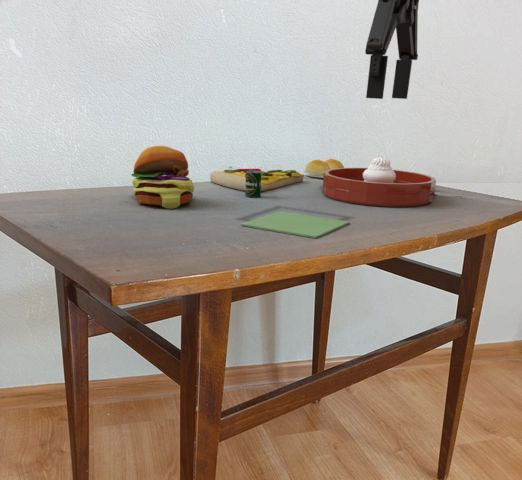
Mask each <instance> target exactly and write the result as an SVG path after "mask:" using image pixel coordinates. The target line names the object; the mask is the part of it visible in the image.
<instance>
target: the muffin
mask: <svg viewBox="0 0 522 480" xmlns="http://www.w3.org/2000/svg"><path fill="white" fill-rule="evenodd" d="M367 168H368V169H366V170H365V171H364V173H363V178H364V181H366V182H377V183H393V181H394V180H395V178H396V174H395V172H394V171H393V170H394V169H393V167H392V166H391V161H390V159H388V158H387V157H383V156H380V157H374V158H373V159H372V160H371V161H370V165H368V167H367Z"/></svg>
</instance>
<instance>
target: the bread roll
mask: <svg viewBox="0 0 522 480" xmlns="http://www.w3.org/2000/svg"><path fill="white" fill-rule="evenodd" d="M337 168H345V166H344V164H343V163H342V162H341V161H340V160H337V159H334V158H329V159H326V160H325V161H324V160H320V159H314V160H311V161H309V162H308V163H307V164H306V166H305V167H304V171H303V172H304V174H306V177H307V178H309V179H312V180H313V179H314V180H319V181H321V180H322V181H323V177H324V172H325V171H326V170H330V169H337Z"/></svg>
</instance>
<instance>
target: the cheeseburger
mask: <svg viewBox="0 0 522 480" xmlns="http://www.w3.org/2000/svg"><path fill="white" fill-rule="evenodd" d="M133 165H134V166H133V173H131V177H134V178H133V179H132V185H133V196H134V197H136V201H137V203H138V204H139V205H140V204H142V205H144V204H145V205H151V206H161V207H162V208H165V209H168V210H173V209H176V208H179V207H180V205H184V204H187V203H189V202H191V201H193V198H194V197H193V196H194V191H195V184H194V182H193V180H192V179H191V178H190V177H188V176H189V175H190V171H189V162H188V160H187V157H186V155H185V154H184V152H182V151H180V150H177V149H175V148H172V147H169V146H167V145H153V146H149V147H147V148H145V149H144V150H143V151H142V152H141V153H140V154H139V156H138V157H137V159H136V161H135V163H134V164H133Z"/></svg>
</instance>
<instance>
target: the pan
mask: <svg viewBox="0 0 522 480" xmlns="http://www.w3.org/2000/svg"><path fill="white" fill-rule="evenodd" d="M366 169H368V167H344V168H337V169H330V170H326V171H325V172H324V176H322V178H323V180H322V188H321V190H322V191H321V192H322V193H323V194H324V195H325V197H327V198H330V199H333V200H335V201H339V202H343V203H348V204H355V205H360V206H361V205H362V206H370V207H383V208H387V207H388V208H409V207H411V208H412V207H420V206H424V205H428V204H429V203H431V202H433V201H434V199H435V198H434V197H435V191H436V183H437V179H436V177H433V176H431V175H429V174H428V175H427V174H424V173H421V172H420V173H419V172H413V171H408V170H398V169H392V170H393V171H394V172H395V174H396V178H395V180H394V181H393V183H377V182H366V181H364V178H363V173H364V171H365V170H366Z"/></svg>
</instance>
